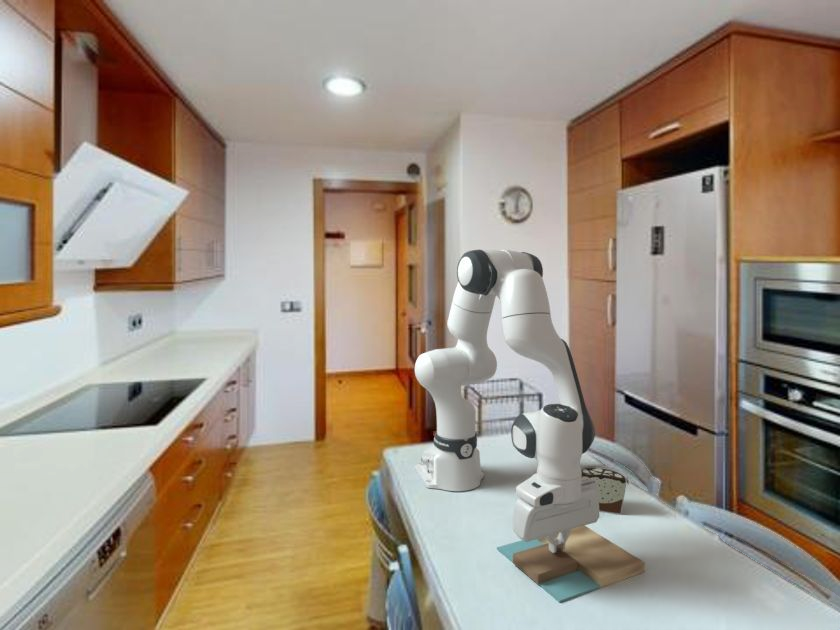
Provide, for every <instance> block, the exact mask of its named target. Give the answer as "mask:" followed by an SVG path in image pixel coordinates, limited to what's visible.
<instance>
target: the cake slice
mask: <svg viewBox="0 0 840 630" xmlns="http://www.w3.org/2000/svg"><path fill="white" fill-rule="evenodd" d="M581 471H582V477H581V480H585V479H587V478H591V479H592V480H594V481H595V482H596V483H597V494H598V500H599V513H604V514H605V513H607V514H612V515H620V516H621V515H622V514H623V513H622V512H623V508H624V507H623V506H624V501H625V495H626V487H627V484H628V486H629V484H630V482H629V478H628V476H627V473H625V472H623V471H622V470H620V469H618V468H616V467H615V468H614V467H612V466H607V465H600V464H598V465H597V464H594V465H593V464H591V465H590V464H589V465H585V466H583V467H581Z"/></svg>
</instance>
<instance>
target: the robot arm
mask: <svg viewBox="0 0 840 630" xmlns="http://www.w3.org/2000/svg"><path fill="white" fill-rule="evenodd" d="M543 275H544V268H543V264H542V262H541V260H540V259H539V257H537V256H536V255H534V254H532V253H529V252H527V251H521V252H520V251H516V250H515V251H514V250H509V249H508V250H507V249H487V250H485V249H484V250H482V249H474V250H473V249H472V250H469V251H466V252H465V253H463V254H462V256H461V257H460V259H459V261H458V263H457V266H456V277H457V281H458V282H457V285H456V287H455V290H454V293H453V297H452V301H451V306H450V309H449V314H448V318H447V324H446V325H447V329H448V331H449V333H450V334H451V335H452V337H454V338H456V339H457V341H456V342H457V343H456V344H455V346H453V347H447V348H436V349H432V350H428V351H426V352H424V353H421V354H420V355H419V356H418V357H417V359H416V360H415V364H414V375H415V378H416V380H417V382H418V383H419V385H420V386H422V387H423V388H424V389H425V390H427V391H428V392H429V394H430V396H431V398H432V399H433V402H434V405H435V412H436V413H435V414H436V415H435V416H436V431H434V433H433V436H434V438H433V443H432V444H431V445H430V446H428V447H427V448H426V449H425V450H423V452H422V457H421V458H420V463H417V464H415V465H414V467H413V468H414V471H415V473H416V474H417V476H418V477H419V479H420V480H421V481H422V484H423V485H424V486H425V487H426V488H428V489H437V490H438V489H439V490H444V491H448V492H449V491H450V492H465V491H470V490H474V489H476V488H478V487H479V486H480V485H481V483H482V481H481V480H483V478H484V477H485V473H484V472H483V471H481V470H482V469H481V468H482V467H481V455H480V454H481V453H480V450H479V449H478V448H477V446H478V435H477V432H476V416H477V415H476V407H475V406H474V404H473V403H472V402H471V401H470V400H468V399H467V398H465V397H464V396H463V393H462V388H461V387H462V386H468V385H474V384H481V383H482V382H485V381H487V380H490V379H491V378H494V376H495V374H496V372H497V368H498V361H497V357H496V355H495V353H494V352H493V351H492V350H491V348H490V347H489V345H488V336H487V335H488V330H489V324H490V321H491V317H492V312H493V309H494V306H495V301H496V297H498V299H499V301H500V303H499V304H500V315H501V326H502V334H503V339H504V341H505V343H506V344H507V346H509V348H510V349H511V350H512V351H513V352H514V353H516V354H518V355H519V356H522V357H524V358H527V359H530V360H532V361H535V362H537V363H540V364H542V365H543V366H544V367H546V368H547V369H548V370H549V372H551V375H552V379H553V381H554V385H555V389H556V392H557V396H558V400H559V403H549V404H546V405H543V406H542V407H541V409H539V410H537V411H528V412H524V413H519V414H518V415H517V416H516V417H515V419H514V421H513V423H512V426H511V443H512V447H514V448H515V449H516V450H517V452H519V453H520V454H521V455H523V456H524V457H527V458H529V459H534V460H536V461H537V468H536V473H534V474H533V475H532V476H530V477H529V478H527V479H526V480H524V481H523V482H521V483H519V484H518V485H516V487H515V495H516V496H517V497H518V498H517V500H516V502H515V503H514V508H513V517H512V529H513V532H514V534H515V535H516V537H518V538H519V539H520V540H523V541H525V542H529V541H532V540H536V539H539V538H543V537H546V538H547V540H548V542H549V550H550V551H551V552H553V553H555V552H559V551H562V550H565V542H566V541H567V539H568V537H569V535H570V529H574V528H577V527H581V526H584V525H585V526H587V525H591V524H595V523H597V522H598V520H599V519H600V512H599V500H598V494H597V483H596V482H595V481H594V480H592V479H591V478H587V479H585V480H581V477H582V471H581V468H582V467H581V458H582V455H583V454H585V453H586V452H588V450H589V449H590V447H592V445H593V443H594V440H595V438H596V429H595V425H594V422H593V419H592V418H591V416H590V413H589V411H588V408H587V405H586V402H585V399H584V394H583V390H582V386H581V384H580V380H579V377H578V371H577V370H576V369H577V368H576V366H575V362H574V358H573V356H572V352H571V350H570V347H569V344H567V343H568V342H567V341H565V340H564V339H562V338H561V336H560V335H559V334H558V332H557V331H556V329H555V327H554V324H553V320H552V314H551V313H552V312H551V309H550V308H551V306H550V302H549V296H548V291H547V288H546V285H545V283H544V279H543V277H544V276H543ZM557 533H559V535H558V538H557V539H556V540H555V539H554V538H556V535H557Z"/></svg>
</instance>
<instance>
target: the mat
mask: <svg viewBox="0 0 840 630" xmlns="http://www.w3.org/2000/svg"><path fill="white" fill-rule="evenodd" d="M540 545H544V544H542V543H541V542H540V541H538V540H537V539H536V540H532V541H529V542H525V541H523V540H522V539H520V540H518V541H514V542H511V543H507V544H505V545H501V546H496V550H497V551H498V552H499V553H500V554H502V555H503V556H504V557H505V558H507V560H509V561H510V562H511V563H512V564H513V554H514V553H517V552H520V551H524V550H527V549H530V548H534V547H537V546H540ZM537 585H538V586H539V587H541V588H542V589H543V590H544V591H545V592H546V593H548V594H549V595H550V596H551V597H552V598H554V600H555V601H556V602H557V603H563V602H565V601H568V600H571V599H574V598H576V597H579V596H581V595H584V594H587V593H590V592H593V591H595V590H599V589H601V588H600V585H598V584H597V583H596V582H594V581H593V580H592V579H590V578H589V577H587V576H586V575H585V574H583V573H582V572H581V571H579V570H578V571H576V572H573V573H570V574H567V575H564V576H561V577H558V578H555V579H552V580H549V581H546V582H544V583H541V584H537Z"/></svg>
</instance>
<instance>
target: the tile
mask: <svg viewBox="0 0 840 630" xmlns="http://www.w3.org/2000/svg"><path fill="white" fill-rule="evenodd" d="M512 564H513V565H515V566H516V567H517V568H518V569H519V570H520V571H521V572H523V573H524V574H525V575H527V576H528V578H530V579H531V580H532V581H534V582H535V583H536V584H537V585H538V584H541V583H544V582H546V581H549V580H552V579H555V578H558V577H561V576H564V575H567V574H570V573H573V572H576V571H578V561H577V560H575V559H574V558H572V557H571V556H570V555H568V554H567V553H565V552H564V551H559V552H555V553H553V552H551V551H550V550H549V543H547V544H544V545H540V546H537V547H534V548H530V549H527V550H524V551H520V552H517V553H514V554H513V563H512Z"/></svg>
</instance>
